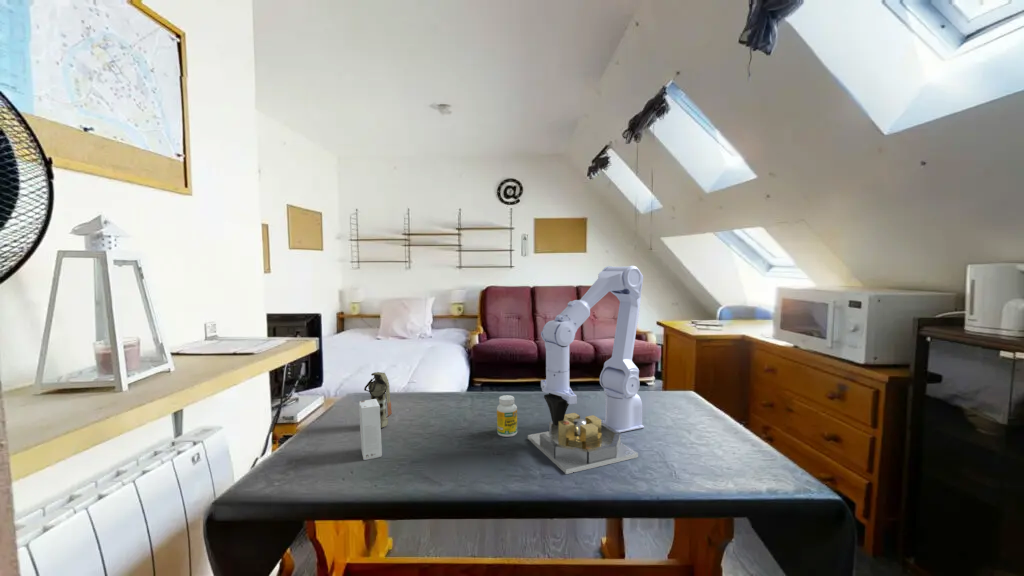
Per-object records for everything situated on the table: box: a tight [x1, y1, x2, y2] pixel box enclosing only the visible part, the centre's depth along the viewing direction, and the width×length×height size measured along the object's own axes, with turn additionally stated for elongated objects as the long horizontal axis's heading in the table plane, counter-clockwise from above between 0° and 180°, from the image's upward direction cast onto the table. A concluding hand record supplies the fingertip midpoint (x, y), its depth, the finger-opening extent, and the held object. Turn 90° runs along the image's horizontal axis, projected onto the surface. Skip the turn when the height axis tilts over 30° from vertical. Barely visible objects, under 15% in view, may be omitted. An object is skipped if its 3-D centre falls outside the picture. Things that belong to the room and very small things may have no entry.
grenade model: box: [363, 371, 393, 429], centre depth 108 cm, size 6×7×15 cm
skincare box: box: [358, 398, 383, 461], centre depth 93 cm, size 6×4×12 cm
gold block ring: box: [558, 412, 602, 449], centre depth 95 cm, size 10×10×6 cm
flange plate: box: [527, 418, 639, 475], centre depth 95 cm, size 19×19×7 cm
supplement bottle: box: [496, 394, 518, 438], centre depth 104 cm, size 5×5×10 cm
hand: (557, 423), depth 97 cm, fingers closed
